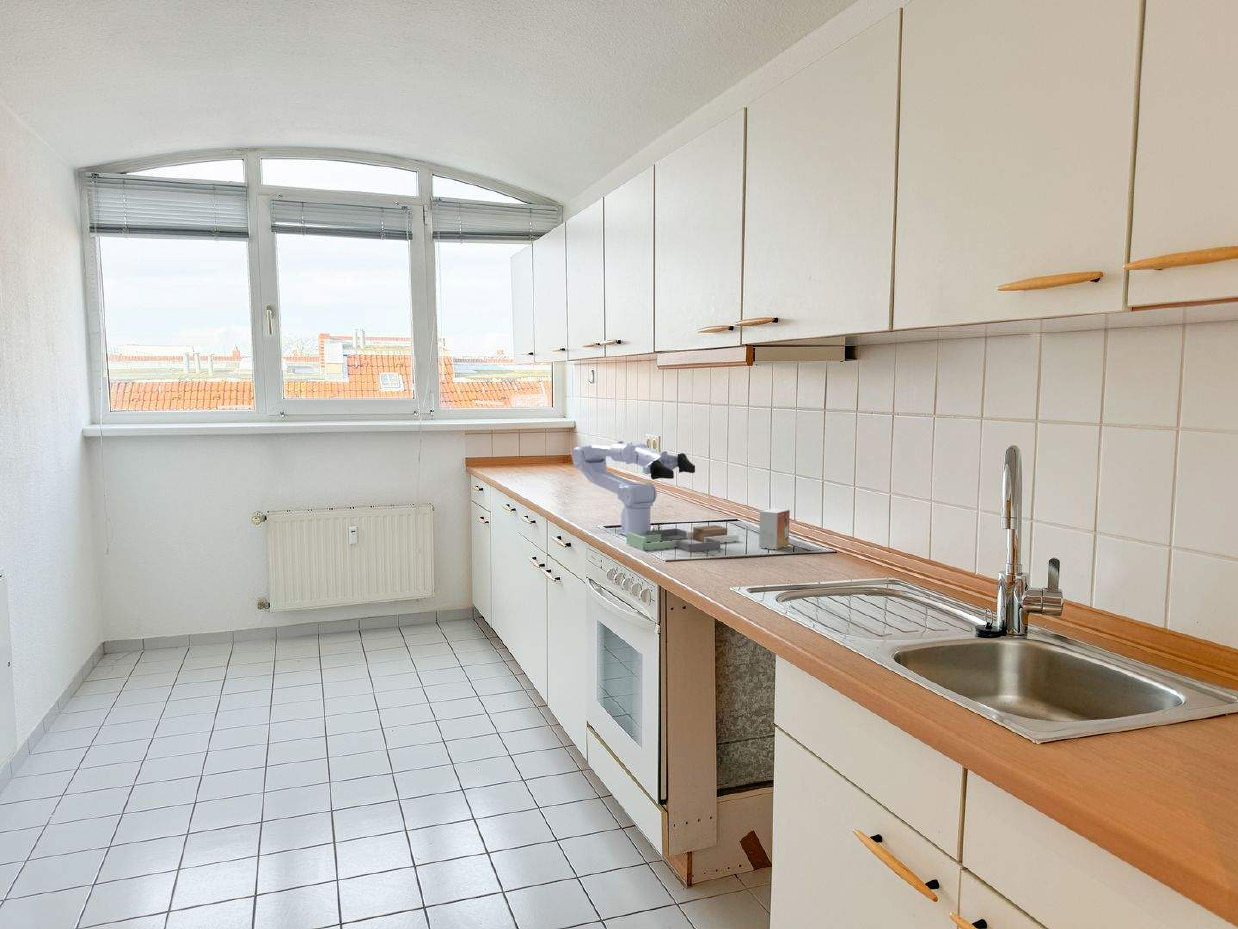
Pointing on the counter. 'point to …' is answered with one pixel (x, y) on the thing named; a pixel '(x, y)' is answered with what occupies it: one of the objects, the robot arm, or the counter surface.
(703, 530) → the walnut block
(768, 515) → the small box
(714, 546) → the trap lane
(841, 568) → the counter surface
